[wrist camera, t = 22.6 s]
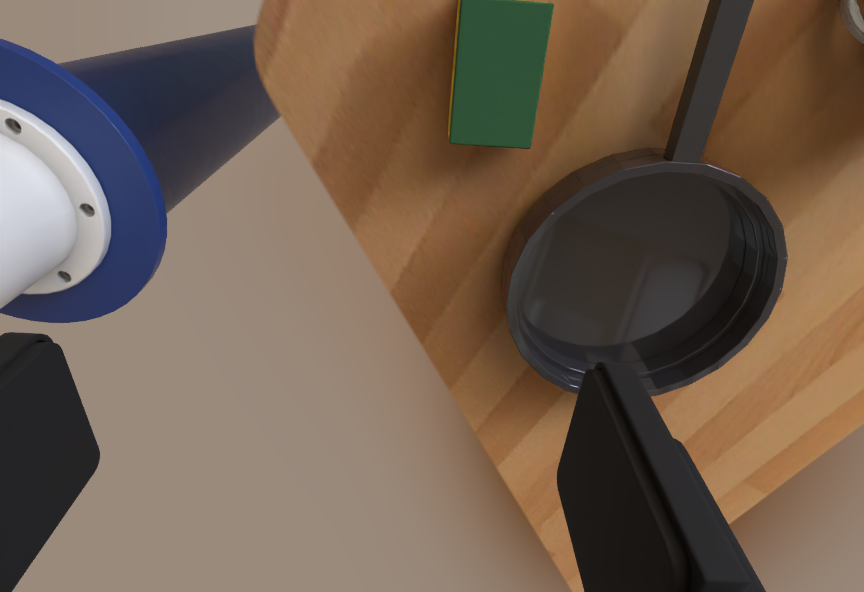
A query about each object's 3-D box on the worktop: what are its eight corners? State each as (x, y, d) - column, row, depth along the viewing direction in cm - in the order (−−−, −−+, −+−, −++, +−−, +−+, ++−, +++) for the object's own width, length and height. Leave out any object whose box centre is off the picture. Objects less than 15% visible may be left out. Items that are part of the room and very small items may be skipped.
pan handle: (662, 158, 29) (670, 164, 28) (732, -78, 24) (745, -81, 23) (689, 160, 29) (698, 166, 28) (765, -75, 24) (780, -78, 23)
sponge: (447, 131, 31) (449, 144, 28) (458, -5, 27) (461, -4, 25) (522, 136, 31) (530, 149, 28) (542, 1, 27) (554, 3, 25)
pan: (486, 363, 40) (491, 394, 37) (521, 136, 31) (531, 152, 28) (705, 374, 40) (727, 405, 37) (799, 155, 32) (838, 172, 29)
